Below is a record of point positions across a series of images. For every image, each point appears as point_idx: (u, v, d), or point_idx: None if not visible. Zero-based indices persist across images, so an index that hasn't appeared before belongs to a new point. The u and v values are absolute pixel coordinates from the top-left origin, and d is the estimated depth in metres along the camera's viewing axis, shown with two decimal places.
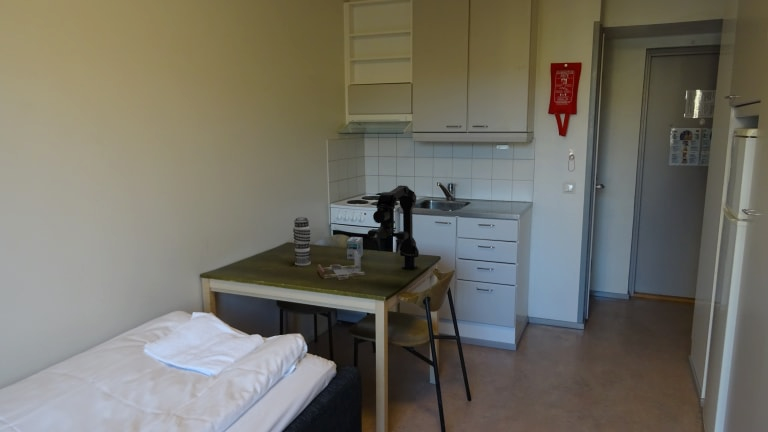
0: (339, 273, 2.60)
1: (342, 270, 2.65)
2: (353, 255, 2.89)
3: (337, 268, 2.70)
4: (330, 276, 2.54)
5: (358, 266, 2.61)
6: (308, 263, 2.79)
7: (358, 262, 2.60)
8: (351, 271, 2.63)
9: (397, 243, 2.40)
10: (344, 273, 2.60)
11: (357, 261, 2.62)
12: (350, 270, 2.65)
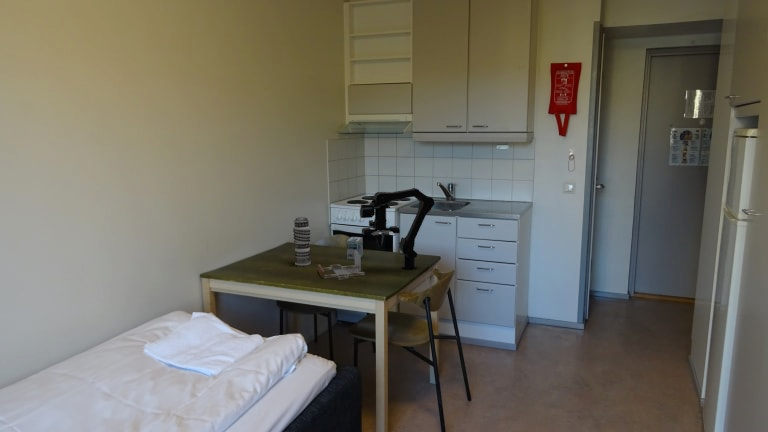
0: (339, 273, 2.60)
1: (342, 270, 2.65)
2: (353, 255, 2.89)
3: (337, 268, 2.70)
4: (330, 276, 2.54)
5: (358, 266, 2.61)
6: (308, 263, 2.79)
7: (358, 262, 2.60)
8: (351, 271, 2.63)
9: None
10: (344, 273, 2.60)
11: (357, 261, 2.62)
12: (350, 270, 2.65)
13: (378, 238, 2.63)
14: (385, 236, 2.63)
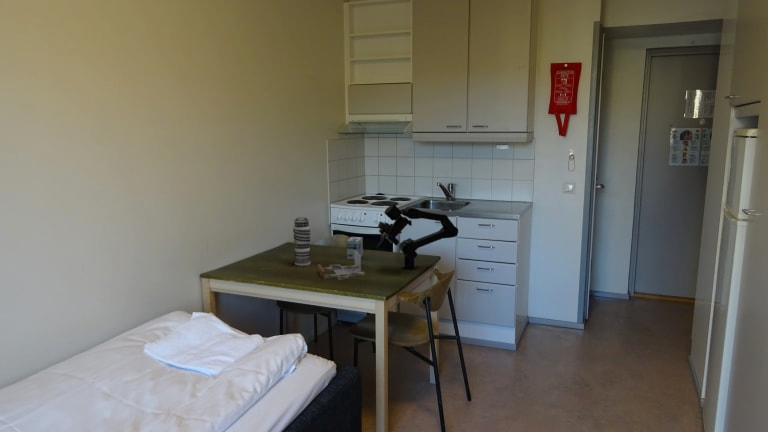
0: (339, 273, 2.60)
1: (342, 270, 2.65)
2: (353, 255, 2.89)
3: (337, 268, 2.70)
4: (330, 276, 2.54)
5: (358, 266, 2.61)
6: (308, 263, 2.79)
7: (358, 262, 2.60)
8: (351, 271, 2.64)
9: (382, 240, 2.65)
10: (344, 273, 2.60)
11: (357, 261, 2.62)
12: (350, 270, 2.65)
13: None
14: None
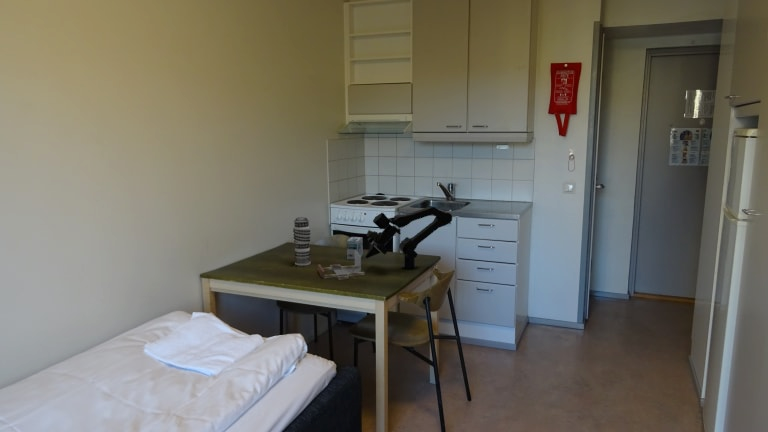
0: (339, 273, 2.60)
1: (342, 270, 2.65)
2: (353, 255, 2.89)
3: (337, 268, 2.70)
4: (330, 276, 2.54)
5: (358, 266, 2.61)
6: (308, 263, 2.79)
7: (358, 262, 2.60)
8: (351, 271, 2.64)
9: (371, 248, 2.64)
10: (344, 273, 2.60)
11: (357, 261, 2.62)
12: (350, 270, 2.65)
13: None
14: None
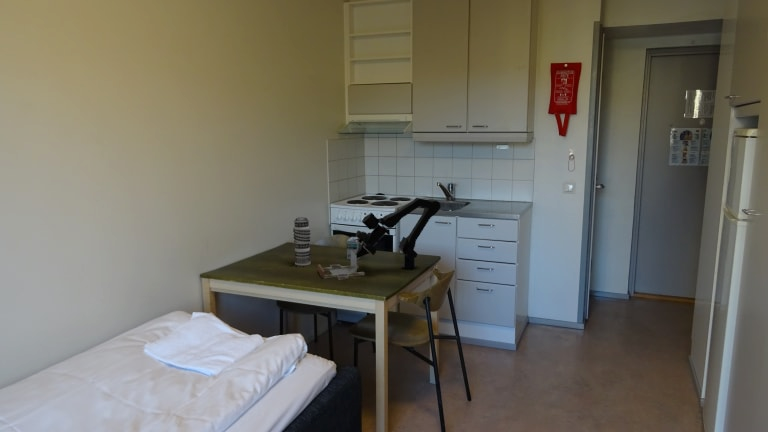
0: (335, 273, 2.59)
1: (338, 270, 2.65)
2: None
3: (337, 268, 2.70)
4: (330, 276, 2.54)
5: (354, 266, 2.60)
6: (308, 263, 2.79)
7: (354, 262, 2.60)
8: (347, 271, 2.63)
9: (360, 249, 2.62)
10: (340, 273, 2.59)
11: (353, 261, 2.62)
12: (346, 270, 2.65)
13: None
14: None
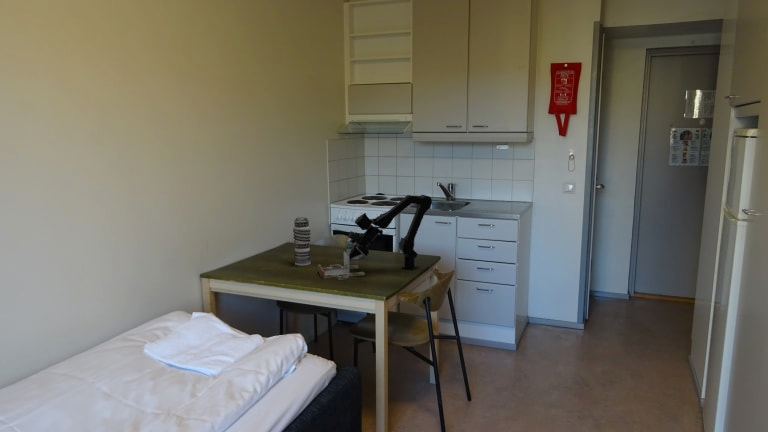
0: (328, 274, 2.58)
1: (331, 271, 2.64)
2: None
3: (337, 268, 2.70)
4: (330, 276, 2.54)
5: (347, 267, 2.59)
6: (308, 263, 2.79)
7: (347, 263, 2.59)
8: (340, 272, 2.62)
9: (352, 250, 2.61)
10: None
11: (346, 262, 2.61)
12: (339, 271, 2.64)
13: None
14: None
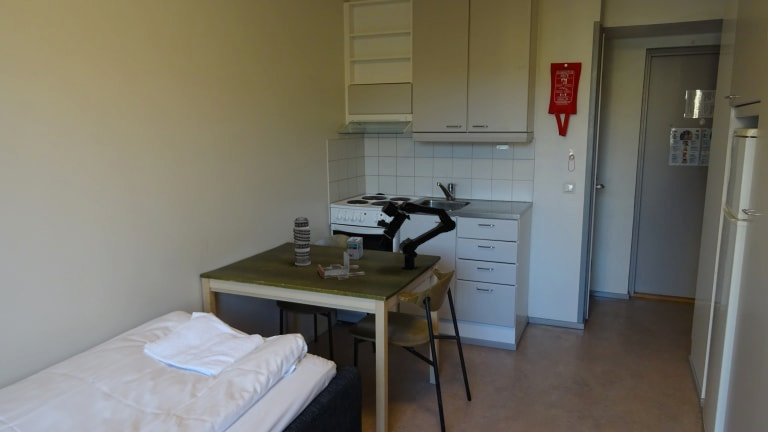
0: (328, 274, 2.58)
1: (331, 271, 2.64)
2: (353, 255, 2.89)
3: (337, 268, 2.70)
4: (330, 276, 2.54)
5: (347, 267, 2.59)
6: (308, 263, 2.79)
7: (347, 263, 2.59)
8: (340, 272, 2.62)
9: None
10: None
11: (346, 262, 2.61)
12: (339, 271, 2.64)
13: None
14: None
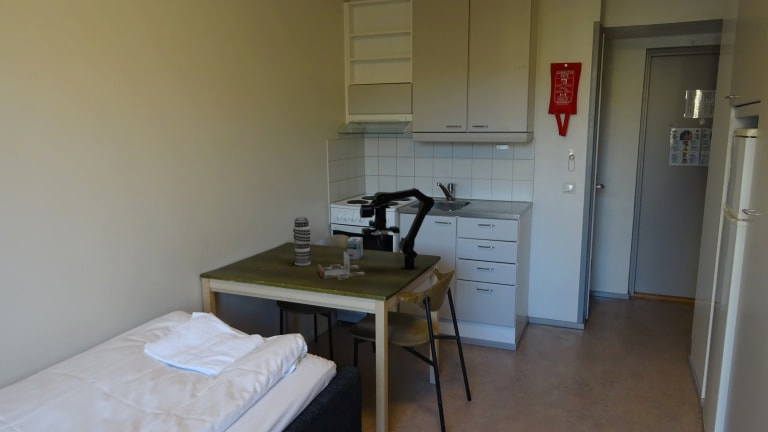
0: (328, 274, 2.58)
1: (331, 271, 2.64)
2: (353, 255, 2.89)
3: (337, 268, 2.70)
4: (330, 276, 2.54)
5: (347, 267, 2.59)
6: (308, 263, 2.79)
7: (347, 263, 2.59)
8: (340, 272, 2.62)
9: None
10: None
11: (346, 262, 2.61)
12: (339, 271, 2.64)
13: (379, 238, 2.63)
14: (384, 236, 2.63)
